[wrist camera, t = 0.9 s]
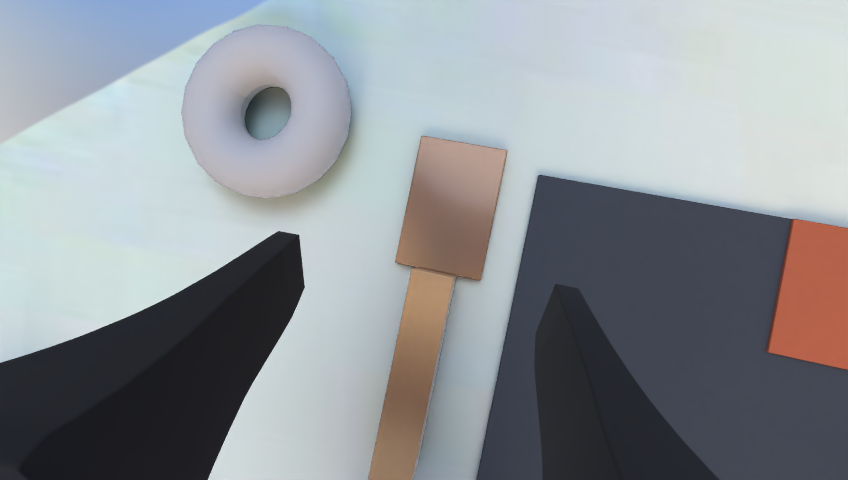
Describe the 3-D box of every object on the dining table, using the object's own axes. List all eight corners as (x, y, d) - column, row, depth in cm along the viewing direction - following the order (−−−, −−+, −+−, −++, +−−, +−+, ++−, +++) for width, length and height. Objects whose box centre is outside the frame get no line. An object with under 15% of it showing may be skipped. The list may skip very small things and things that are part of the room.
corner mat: (868, 621, 21) (877, 629, 20) (471, 505, 23) (470, 511, 23) (938, 246, 21) (949, 245, 21) (538, 175, 24) (539, 173, 23)
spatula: (422, 138, 25) (414, 121, 22) (506, 152, 24) (510, 137, 21) (358, 446, 24) (341, 472, 21) (441, 469, 24) (436, 500, 21)
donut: (332, 221, 25) (378, 62, 25) (308, 216, 22) (362, 33, 22) (188, 177, 27) (232, 26, 27) (146, 166, 23) (195, -7, 23)
